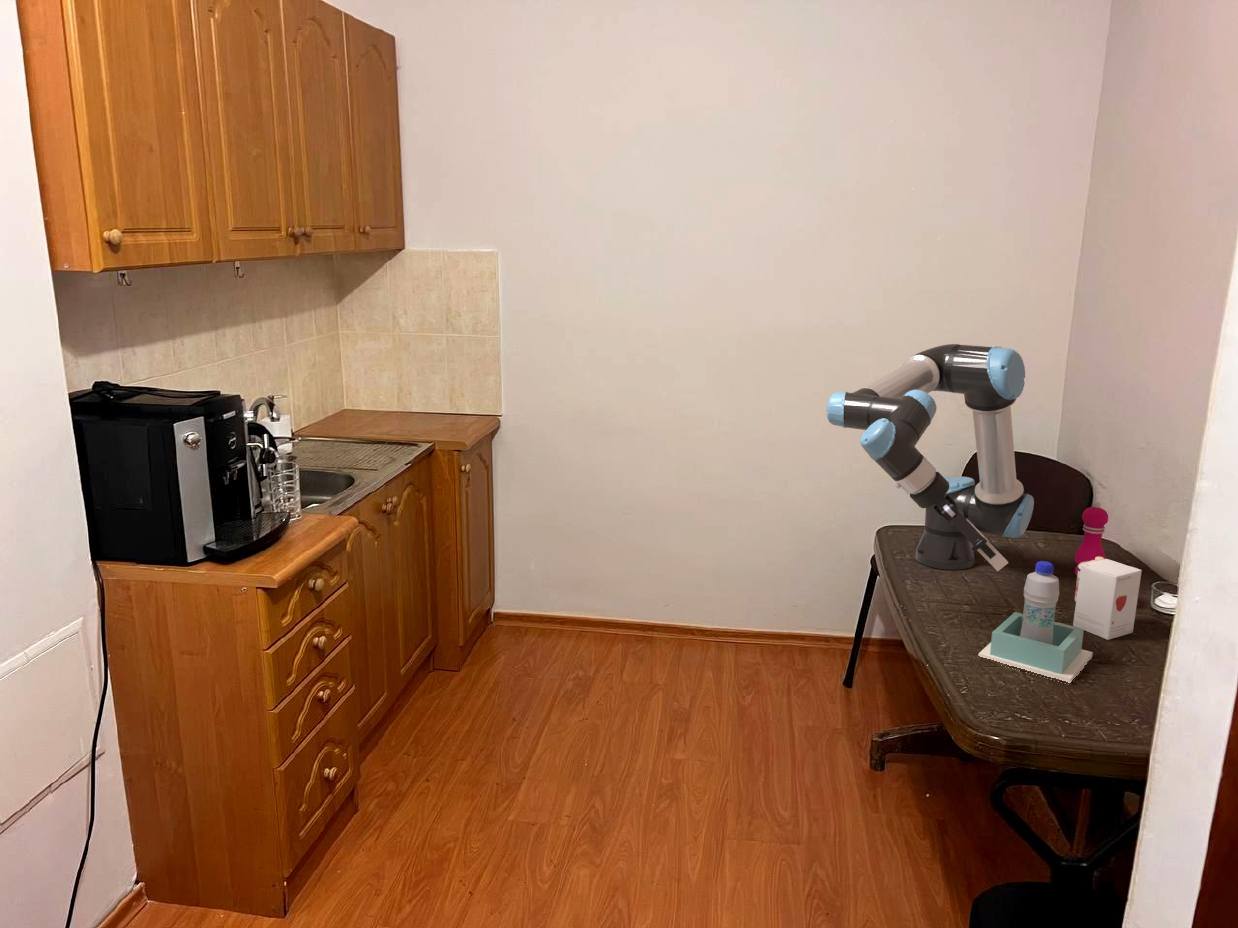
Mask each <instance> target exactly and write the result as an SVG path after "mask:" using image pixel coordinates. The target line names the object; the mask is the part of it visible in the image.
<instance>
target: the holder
mask: <svg viewBox="0 0 1238 928" xmlns="http://www.w3.org/2000/svg"><path fill="white" fill-rule="evenodd" d="M1022 622H1023V613H1021V612H1016V611H1015V612H1013V613H1012V614H1011V615H1010V616H1009V617H1007V618H1006V619H1005V620H1004V621H1003V622H1001V624H1000V625H999V626H998V627H996V629H994V630H993V631H992V632H991V639H990V642H989V643H988V644H987V645H986V646H985V647H984V648H982V650H981V651H980V652H979V653H978V655H977V656H980V657H983V658H987V659H991V660H994V661H997V662H1000V663H1003V664H1007V665H1009V666H1014V667H1017V668H1021V669H1025V670H1027V671H1031V672H1034V673H1037V674H1041V675H1044V676H1047V677H1051V678H1056V679H1059V680H1062V681H1066V682H1068V683H1071V682H1072V680H1073V679H1074V678H1075V677H1076V676H1077V677H1078V676H1079V674H1080V673H1081V672H1082V671H1083V669H1084V668H1085V667H1086V666H1085V665H1087V664H1088V663H1089V662H1090V661H1091V660H1092V658H1093V655H1094V652H1093V651H1090V650H1086V649H1083V648H1082V647H1083V639H1084V638H1083V637H1084V632H1085V630H1084V629H1082V628H1078V627H1075V626H1073V625H1069V624H1066V623H1060V622H1058V621H1057V622H1056V621H1054V626H1053V644H1052V645H1051V644H1047V643H1043V642H1039V641H1035V640H1031V639H1027V638H1024V637H1020V633H1021V628H1022ZM1089 660H1090V661H1089ZM1088 661H1089V662H1088ZM1087 662H1088V663H1087ZM1084 666H1085V667H1084ZM1080 671H1081V672H1080ZM1077 677H1076V678H1077ZM1076 678H1075V679H1076ZM1075 679H1074V680H1075ZM1074 680H1073V681H1074ZM1072 683H1073V682H1072ZM1072 683H1071V684H1072Z"/></svg>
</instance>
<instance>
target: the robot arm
mask: <svg viewBox="0 0 1238 928" xmlns="http://www.w3.org/2000/svg"><path fill="white" fill-rule="evenodd" d="M1025 378H1026V367H1025V363H1024V360H1023V357H1022V356H1021V355H1020V353H1019V352H1018V351H1016V350H1015V349H1012V348H1007V347H1002V346H985V345H972V344H971V345H968V344H959V343H958V344H957V343H951V344H943V345H942V344H941V345H938V346H935V347H930V348H929V349H925V350H923V351H921V352H917V353H916V354H914V355H912V356H910V357H908V358H907V359H906V360H905V361H904V363H903V364H902V366H900V367H898V368H896V369H895V370H893V371H891V372H889V373H888V374H886V375H884V376H882V377H880V378H878V379H876V380H875V381H873V382H870V383H869V384H867V385H865V386H863V387H861V388H860V389H857V390H855V391H853V392H848V391H836V392H834V393H832V395H830V397H829V399H828V401H827V405H826V417H827V420H828V422H829V423H830V424H831V425H832V426H837V427H842V428H844V429H846V428H847V429H855V430H862V431H863V433H862V434H861V436H860V438H859V443H860V446H861V447H862V448H863V450H864V451H865V453H867V454H868V455H869V457H870V458H871V460H873V461H874V462H875V463H876V464H877V465H878V466H879V467H880V468H881V469H882V470H883V471H884V472H885V473H887V475H888V476H889V477H890V478H891V479H892V481H895V483H896V485H895V487H896V488H897V489H900V488H901V489H902V490H903V491H904V492H905V493H906V494H908V495H909V497H910V498H911V500H912V501H913V502H914V503H915V504H916V505H917V506H918V507H919V508H921V509H925V516H924V529H923V533H922V535H921V538H920V540H919V543H918V544H917V547H916V549H915V558H914V559H915V560H916V561H917V562H918V563H920V564H922V565H924V566H926V567H931V568H934V569H940V570H950V571H951V570H952V571H953V570H954V571H959V570H966V569H969V568H972V567H973V566H974V564H975V553H974V552H975V551H977V552H978V553H980V555H981V556H982V557H983V558H984V559H985V560H986V561H987V562H988V563H989V564H990V565H991V566H992V568H994V569H995V570H996V572H1000V570H1001V569H1003V568H1004V567H1006V565H1008V564H1009V561H1008V560H1007V559H1006V558H1005V557H1004V556H1003V555H1002V554H1001V553H1000V551H998V550H997V549H996V548H995V547H994V546H993V545H992V544H991V543H990V541H989V539H988V538H986V537H985V536H984V534H983V533H987V534H991V535H995V536H998V537H999V536H1000V537H1002V538H1005V537H1007V538H1012V539H1017V538H1021V536H1023V535H1024V533H1025V532H1026V531H1027V528H1028V527H1029V523H1030V521H1031V519H1032V516H1033V511H1034V506H1035V499H1034V496H1032V495H1031V494H1029V493H1025V489H1024V485H1023V483H1022V482H1021V481H1020V480H1019V479H1017V471H1016V459H1015V458H1016V457H1015V456H1016V455H1015V447H1014V446H1015V445H1014V444H1015V443H1014V433H1013V420H1012V406H1013V405H1014V404H1015V403H1016V401H1017V399H1018V398H1019V397H1020V396H1021V395H1022V393H1023V390H1024V387H1025ZM931 392H946V393H953V394H959V395H960V394H961V395H963V396H964V404H965V406H966V407H967V408H968V409H970V410H972V417H973V418H972V419H973V426H974V436H975V446H976V457H977V466H978V467H977V468H978V475H979V482H978V483H977V484H976V482H975V479H973V478H972V477H969V476H956V475H955V476H943V475H942V473H940V472H939V471H937V470H936V467H935V466H934V465H933V464H932V463H931V462H930V461H929V460H928V458H927V457H925V456H924V454H922V453H921V452H920V451H919V450H918V449H917V447H916V445H917V444H918V442H919V441H920V439H921V438H922V436H923V435H924V433H925V431H926V430H927V429H928V427H929V426H930V425H931V424H932V421H933V418H934V417H935V414H936V412H937V404H936V401H935V399H934V398H933V397H932V396H931V395H930V394H929V393H931ZM975 484H976V485H975Z"/></svg>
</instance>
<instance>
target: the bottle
mask: <svg viewBox="0 0 1238 928" xmlns="http://www.w3.org/2000/svg"><path fill="white" fill-rule="evenodd" d="M1053 573H1054V565H1053V563H1051V562H1049V561H1045V560H1040V561H1037V562H1036V563H1035V568H1034V571H1033V572H1031V573H1028V574H1027V577H1026V580H1025V583H1024V587H1023V597H1024V602H1023V603H1024V605H1023V612H1022V614H1023V622H1022V628H1021V633H1020V637H1024V638H1027V639H1031V640H1035V641H1039V642H1043V643H1047V644H1051V645H1052V644H1053V626H1054V622H1055V618H1056V617H1055V616H1056V606H1057V602H1059V596H1060V581H1059V577H1058V576H1055V575H1054V574H1053Z"/></svg>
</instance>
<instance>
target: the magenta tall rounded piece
mask: <svg viewBox="0 0 1238 928" xmlns="http://www.w3.org/2000/svg"><path fill="white" fill-rule="evenodd" d="M1108 514H1109V513H1108V511H1106V509H1104V508H1102V507H1101V503H1100V501H1094V502H1093V504H1092V506H1089V507H1087V508H1086V509H1085V510H1084V511H1083V512H1082V515H1081V517H1082V518H1081V519H1082V521H1083V523H1084V524H1083V528H1082V531H1084V532H1083V533H1084V534H1083V539H1082V541H1081V544H1079V547H1078V549H1077V550H1076V552H1075V554H1074V561H1075V563H1076V564H1077V565H1076V566H1075V569H1074V570H1075V571H1074V574H1075V576H1077V575H1078V569H1077V567H1078V565H1079V564H1080V563H1082V562H1087V561H1091V560H1095V558H1096V557H1103V558H1104V559H1107V558H1106V554H1105V551H1104V548H1103V544H1102V541H1103V540H1102V539H1103V534H1105V529H1106V527H1105V525H1107V524H1108V521H1109V515H1108Z"/></svg>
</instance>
